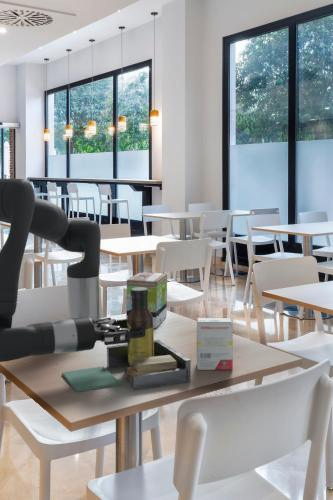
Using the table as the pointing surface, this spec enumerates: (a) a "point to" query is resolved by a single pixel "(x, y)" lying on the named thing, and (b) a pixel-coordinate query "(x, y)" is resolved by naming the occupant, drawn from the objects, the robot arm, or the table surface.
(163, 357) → the offcut stack
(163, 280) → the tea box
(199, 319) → the ink box
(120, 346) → the grey three-sided tray
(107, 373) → the green rubber mat
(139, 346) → the sauce bottle
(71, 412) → the table surface
